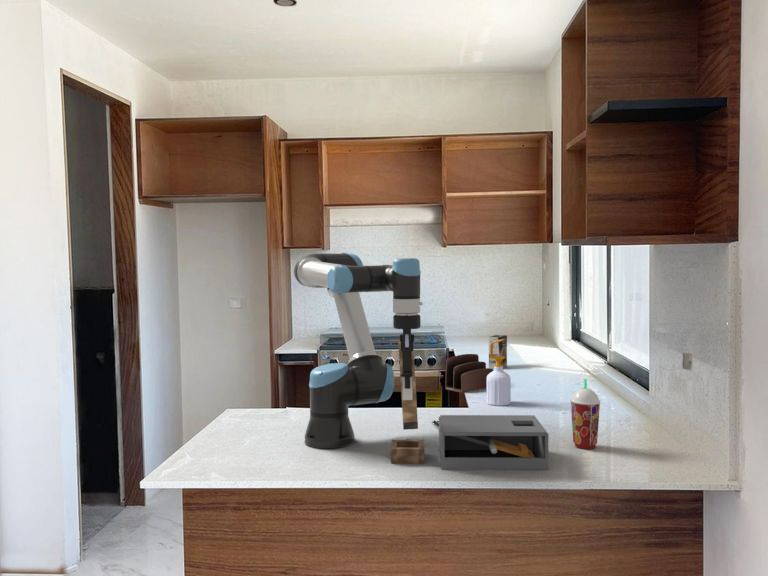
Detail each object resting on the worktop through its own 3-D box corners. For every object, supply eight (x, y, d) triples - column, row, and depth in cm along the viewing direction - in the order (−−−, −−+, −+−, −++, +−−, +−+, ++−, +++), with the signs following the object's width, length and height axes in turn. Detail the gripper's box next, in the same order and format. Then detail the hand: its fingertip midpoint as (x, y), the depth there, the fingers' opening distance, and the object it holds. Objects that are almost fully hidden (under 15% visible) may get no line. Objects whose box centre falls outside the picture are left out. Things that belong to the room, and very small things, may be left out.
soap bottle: (508, 406, 242) (508, 341, 241) (484, 405, 245) (484, 340, 244) (512, 401, 251) (512, 338, 249) (488, 400, 254) (488, 337, 252)
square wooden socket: (391, 463, 177) (391, 449, 177) (392, 453, 186) (392, 439, 186) (424, 463, 177) (424, 449, 177) (423, 453, 186) (423, 439, 186)
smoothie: (605, 449, 188) (606, 380, 187) (580, 452, 186) (581, 382, 185) (589, 441, 196) (589, 375, 195) (564, 444, 194) (565, 377, 193)
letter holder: (445, 389, 275) (444, 356, 274) (477, 383, 288) (477, 351, 287) (461, 393, 267) (461, 359, 267) (494, 387, 280) (494, 354, 279)
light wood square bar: (403, 429, 179) (398, 343, 178) (403, 425, 183) (398, 341, 182) (417, 428, 179) (413, 342, 178) (417, 425, 183) (413, 340, 182)
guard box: (441, 469, 172) (441, 431, 172) (438, 449, 190) (438, 415, 190) (548, 469, 171) (548, 432, 170) (535, 449, 189) (535, 415, 188)
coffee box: (500, 369, 321) (500, 337, 320) (488, 368, 324) (488, 336, 323) (507, 366, 328) (507, 335, 327) (495, 365, 332) (495, 334, 331)
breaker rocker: (449, 440, 173) (452, 431, 173) (446, 426, 188) (449, 417, 188) (536, 466, 172) (539, 457, 172) (526, 449, 187) (529, 441, 187)
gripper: (420, 316, 171) (421, 404, 172) (420, 311, 188) (420, 391, 189) (392, 316, 171) (393, 404, 172) (394, 311, 188) (395, 391, 189)
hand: (407, 397), depth 180 cm, fingers closed on light wood square bar, 4 cm apart
